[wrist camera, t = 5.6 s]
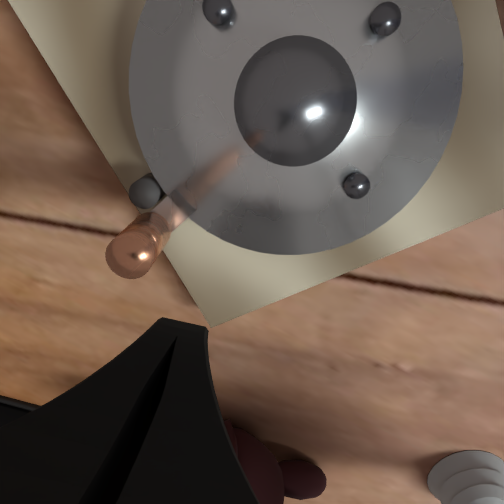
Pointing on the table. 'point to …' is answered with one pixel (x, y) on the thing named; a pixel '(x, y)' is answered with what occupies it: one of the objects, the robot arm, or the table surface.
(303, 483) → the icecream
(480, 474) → the chalice
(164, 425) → the robot arm
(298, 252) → the grey turntable
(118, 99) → the post base
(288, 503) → the table surface
